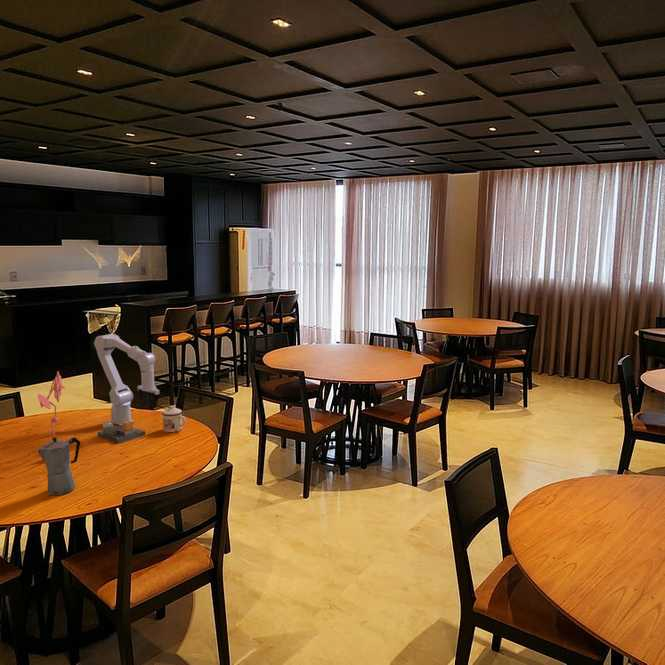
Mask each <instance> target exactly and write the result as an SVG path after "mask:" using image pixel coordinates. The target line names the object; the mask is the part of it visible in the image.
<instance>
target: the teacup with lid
mask: <svg viewBox="0 0 665 665" xmlns="http://www.w3.org/2000/svg"><path fill="white" fill-rule="evenodd" d="M161 414H162V428H163V430H162V431H163V432H164V433H168V432H173V433H175V432H174V431H178V430H180V429H182V430H183V427H184V426H185V425H186V423H187V419H186V417H185V416H183V415H182V414H183V411H182V409H180V408H177V407H175V406H174V405H170V406H169V407H168V408H167V409H164V410H162V412H161ZM178 432H179V431H178Z"/></svg>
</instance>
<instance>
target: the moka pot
mask: <svg viewBox="0 0 665 665" xmlns="http://www.w3.org/2000/svg"><path fill="white" fill-rule="evenodd" d="M74 443H76V444H75V445H76V446H75V453H74V454H75V456H74V458H73V460H70V450H71V449H70V446H71V445H73V444H74ZM80 447H81V440H79V439H78V438H76V437H75V436H74V437H71V438H68V439H65V440H58V438H57V437H56V436H55V437H54V436H53V437H51V442H50V441H49V442H46V443H45V444H42V445H41V446H40V448H39V449H38V450H37V451H36V453H37V454H39V456H40V457H41V458H42V460H43V461H44V463H45V466H46V470H47V474H46V476H47V493H48V494H49V495H50V496H60V495H65V494H67V493H70V492H72V491H73V490H75V488H76V485H75V482H74V481H75V480H74V478H73V474H72V471H71V468H70V464H71V465H73V464H74V463H76V462H78V457H79V456H78V455H79V454H80V453H79V451H80Z"/></svg>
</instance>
